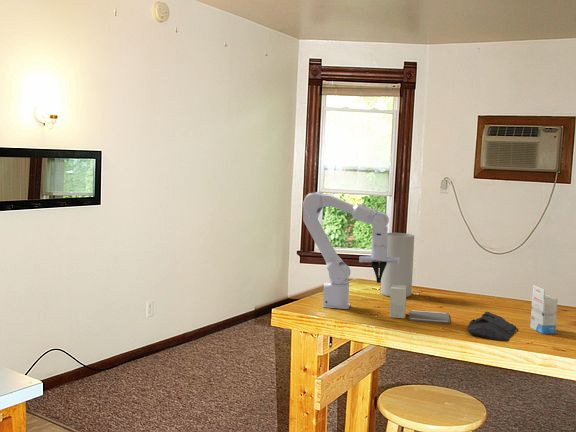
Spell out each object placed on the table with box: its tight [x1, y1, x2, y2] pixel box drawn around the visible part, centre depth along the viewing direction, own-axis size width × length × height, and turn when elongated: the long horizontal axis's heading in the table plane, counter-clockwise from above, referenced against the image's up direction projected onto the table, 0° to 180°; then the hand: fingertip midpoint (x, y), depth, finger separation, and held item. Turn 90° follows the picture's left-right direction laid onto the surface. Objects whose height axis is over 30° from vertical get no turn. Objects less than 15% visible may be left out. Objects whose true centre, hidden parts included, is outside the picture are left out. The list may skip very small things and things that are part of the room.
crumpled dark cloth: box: [466, 311, 518, 342], centre depth 211 cm, size 15×22×5 cm
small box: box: [388, 284, 407, 319], centre depth 228 cm, size 8×6×10 cm
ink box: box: [529, 284, 559, 335], centre depth 214 cm, size 9×5×15 cm, turn 5°
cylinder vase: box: [380, 232, 415, 298], centre depth 264 cm, size 12×12×25 cm
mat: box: [408, 309, 451, 325], centre depth 227 cm, size 14×14×1 cm
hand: (378, 282), depth 235 cm, fingers closed
